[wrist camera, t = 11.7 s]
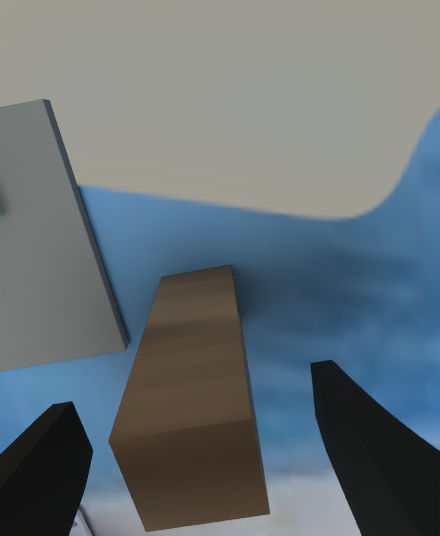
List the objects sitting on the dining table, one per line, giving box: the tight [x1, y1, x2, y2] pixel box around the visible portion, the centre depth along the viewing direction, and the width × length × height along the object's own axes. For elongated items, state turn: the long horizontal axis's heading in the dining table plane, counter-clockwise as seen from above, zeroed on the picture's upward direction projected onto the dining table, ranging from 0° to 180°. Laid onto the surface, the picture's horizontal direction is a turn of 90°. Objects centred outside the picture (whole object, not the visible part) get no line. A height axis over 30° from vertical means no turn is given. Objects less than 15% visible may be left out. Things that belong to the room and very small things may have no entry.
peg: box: [108, 265, 270, 532], centre depth 13 cm, size 3×3×9 cm
